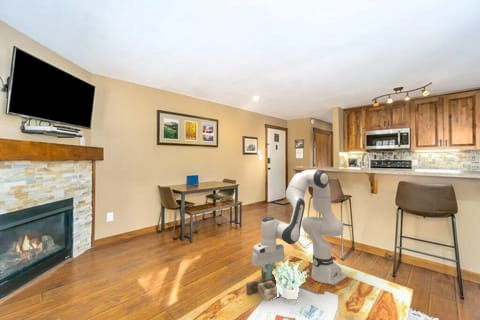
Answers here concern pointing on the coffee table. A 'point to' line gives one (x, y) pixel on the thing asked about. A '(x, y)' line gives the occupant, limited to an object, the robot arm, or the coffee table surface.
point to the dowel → (268, 271)
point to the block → (267, 290)
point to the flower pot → (265, 272)
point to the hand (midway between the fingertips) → (268, 270)
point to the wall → (256, 285)
